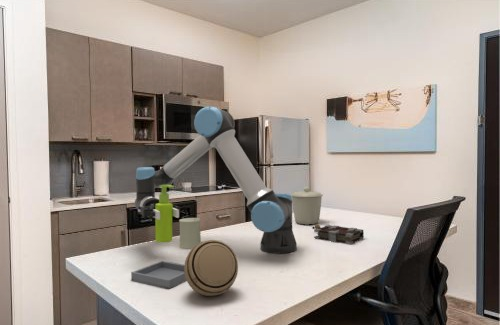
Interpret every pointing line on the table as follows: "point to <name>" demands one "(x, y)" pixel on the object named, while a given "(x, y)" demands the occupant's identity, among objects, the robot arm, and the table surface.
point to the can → (189, 232)
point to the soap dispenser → (164, 217)
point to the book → (338, 234)
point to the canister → (306, 206)
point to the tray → (160, 274)
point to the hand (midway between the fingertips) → (168, 214)
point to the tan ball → (211, 268)
